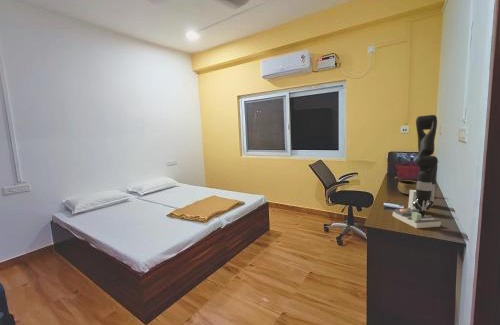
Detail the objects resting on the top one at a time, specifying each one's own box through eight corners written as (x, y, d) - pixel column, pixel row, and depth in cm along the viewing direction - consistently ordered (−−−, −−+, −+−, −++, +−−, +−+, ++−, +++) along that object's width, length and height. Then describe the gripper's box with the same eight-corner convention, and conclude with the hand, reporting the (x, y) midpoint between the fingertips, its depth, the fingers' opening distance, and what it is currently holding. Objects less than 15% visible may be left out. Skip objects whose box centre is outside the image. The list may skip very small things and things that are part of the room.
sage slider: (411, 219, 149) (411, 212, 149) (415, 218, 150) (416, 212, 149) (416, 221, 145) (417, 214, 145) (421, 221, 146) (421, 214, 145)
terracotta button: (397, 212, 161) (397, 209, 160) (404, 212, 161) (404, 208, 161) (403, 215, 156) (403, 211, 155) (410, 214, 156) (410, 211, 156)
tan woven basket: (422, 193, 215) (424, 177, 213) (424, 198, 201) (425, 180, 199) (393, 190, 227) (394, 174, 225) (393, 194, 213) (394, 178, 210)
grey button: (408, 210, 161) (408, 206, 161) (415, 209, 162) (415, 206, 162) (414, 212, 156) (414, 209, 156) (421, 212, 157) (422, 208, 157)
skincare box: (411, 212, 170) (413, 191, 168) (407, 209, 176) (409, 189, 173) (424, 212, 169) (426, 192, 166) (419, 209, 174) (421, 189, 172)
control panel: (392, 216, 163) (393, 208, 162) (413, 214, 165) (414, 207, 165) (416, 228, 144) (417, 219, 143) (440, 226, 146) (441, 217, 145)
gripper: (428, 186, 149) (426, 213, 152) (409, 187, 148) (407, 214, 150) (439, 189, 142) (436, 217, 145) (419, 190, 140) (416, 219, 143)
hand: (421, 216), depth 147 cm, fingers closed
